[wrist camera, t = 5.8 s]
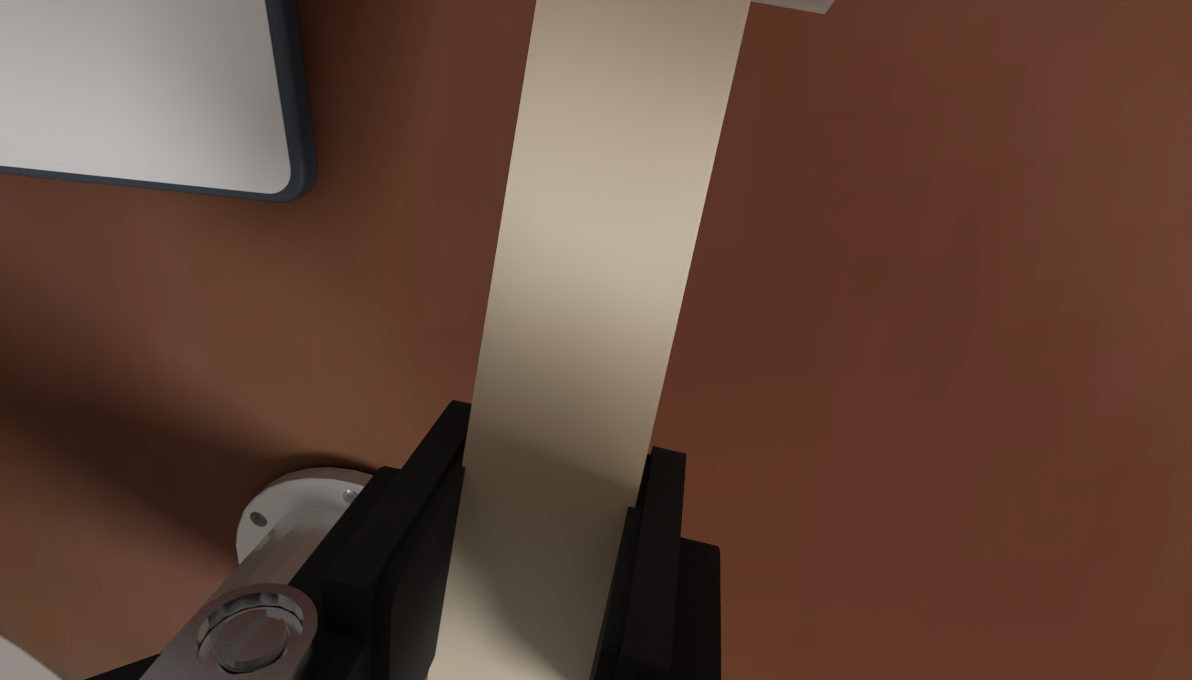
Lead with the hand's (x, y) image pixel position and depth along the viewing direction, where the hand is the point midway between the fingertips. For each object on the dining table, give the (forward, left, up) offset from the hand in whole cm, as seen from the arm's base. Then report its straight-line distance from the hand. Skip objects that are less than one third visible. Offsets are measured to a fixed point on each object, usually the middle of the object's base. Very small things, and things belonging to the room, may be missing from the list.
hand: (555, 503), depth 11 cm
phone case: (+3, +21, -14) cm, 25 cm away
